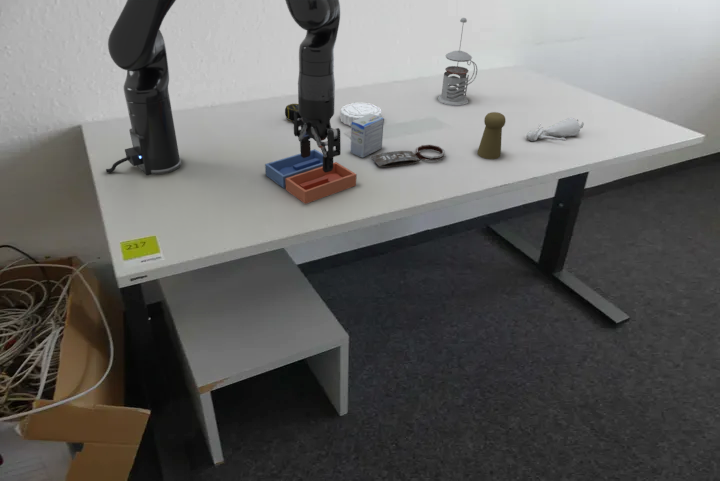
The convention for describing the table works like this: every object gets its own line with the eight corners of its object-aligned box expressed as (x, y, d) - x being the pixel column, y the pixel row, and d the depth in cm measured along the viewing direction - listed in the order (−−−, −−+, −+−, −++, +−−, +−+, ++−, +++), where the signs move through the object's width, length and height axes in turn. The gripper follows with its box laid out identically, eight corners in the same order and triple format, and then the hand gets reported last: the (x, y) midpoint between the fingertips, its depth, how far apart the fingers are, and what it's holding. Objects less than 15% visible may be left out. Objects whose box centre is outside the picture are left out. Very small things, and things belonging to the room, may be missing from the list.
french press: (432, 95, 180) (441, 14, 166) (464, 93, 183) (476, 13, 169) (445, 106, 172) (455, 22, 158) (478, 103, 175) (492, 20, 161)
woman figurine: (596, 124, 151) (542, 137, 146) (592, 139, 154) (539, 152, 149) (567, 109, 160) (515, 121, 155) (564, 124, 163) (513, 136, 157)
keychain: (368, 157, 141) (369, 149, 140) (436, 148, 146) (437, 141, 145) (380, 170, 135) (380, 163, 134) (450, 160, 140) (451, 153, 139)
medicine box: (369, 143, 147) (370, 112, 142) (382, 148, 145) (384, 117, 140) (350, 153, 142) (350, 121, 137) (363, 158, 140) (364, 126, 135)
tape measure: (311, 122, 158) (311, 110, 156) (287, 124, 156) (287, 112, 154) (306, 113, 163) (305, 101, 161) (283, 115, 161) (282, 103, 159)
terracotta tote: (305, 204, 120) (305, 192, 119) (285, 190, 125) (285, 178, 123) (356, 185, 128) (356, 174, 126) (336, 173, 133) (336, 161, 131)
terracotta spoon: (334, 176, 130) (334, 169, 129) (344, 182, 128) (344, 175, 127) (296, 189, 125) (296, 182, 124) (306, 196, 122) (306, 189, 121)
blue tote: (283, 188, 126) (282, 176, 124) (265, 175, 131) (265, 163, 129) (333, 171, 133) (333, 160, 132) (315, 160, 138) (314, 149, 137)
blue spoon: (286, 180, 128) (285, 173, 127) (276, 174, 130) (276, 167, 129) (323, 168, 133) (323, 161, 132) (313, 162, 136) (313, 155, 135)
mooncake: (388, 125, 158) (388, 113, 156) (348, 130, 154) (349, 118, 152) (371, 110, 167) (372, 99, 165) (334, 114, 163) (334, 103, 161)
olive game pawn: (483, 160, 141) (490, 119, 135) (473, 150, 146) (479, 110, 140) (504, 158, 143) (512, 117, 136) (494, 148, 147) (501, 108, 141)
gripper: (282, 86, 117) (284, 156, 126) (321, 107, 108) (321, 180, 117) (311, 80, 121) (312, 148, 130) (352, 99, 112) (349, 171, 121)
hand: (316, 163), depth 123 cm, fingers open, 8 cm apart
